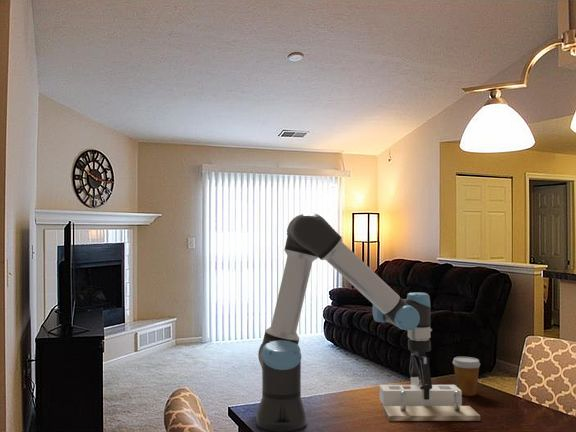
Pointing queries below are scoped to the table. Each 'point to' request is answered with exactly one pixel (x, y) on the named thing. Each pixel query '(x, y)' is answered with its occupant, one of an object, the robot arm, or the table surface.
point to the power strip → (418, 395)
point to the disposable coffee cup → (466, 374)
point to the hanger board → (431, 413)
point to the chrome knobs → (456, 401)
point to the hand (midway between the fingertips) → (420, 402)
